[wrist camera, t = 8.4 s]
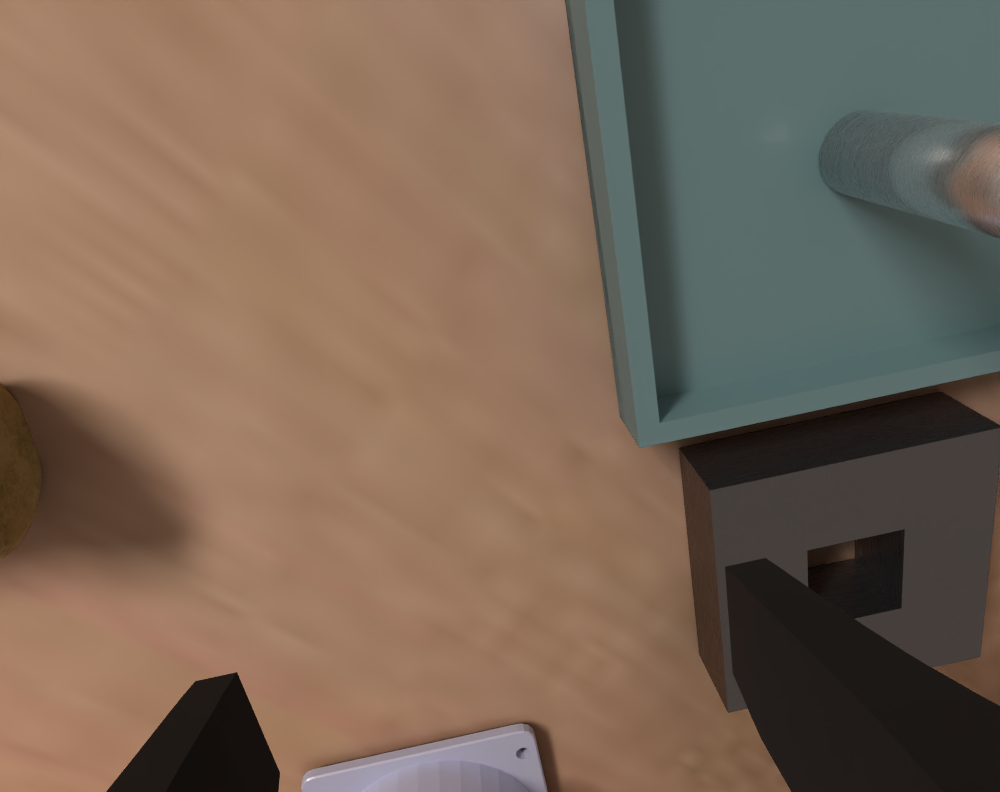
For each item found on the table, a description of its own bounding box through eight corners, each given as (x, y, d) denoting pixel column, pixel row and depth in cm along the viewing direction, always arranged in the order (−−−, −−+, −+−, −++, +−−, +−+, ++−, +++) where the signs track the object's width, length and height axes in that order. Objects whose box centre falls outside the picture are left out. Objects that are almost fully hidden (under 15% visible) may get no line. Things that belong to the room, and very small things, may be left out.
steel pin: (916, 208, 19) (1294, 310, 11) (791, 233, 19) (1084, 357, 11) (927, 66, 18) (1371, 67, 10) (791, 93, 17) (1131, 116, 9)
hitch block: (928, 604, 25) (980, 656, 23) (699, 655, 25) (728, 712, 22) (941, 391, 22) (1003, 427, 19) (678, 447, 22) (709, 490, 19)
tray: (1063, 322, 21) (1124, 344, 19) (620, 417, 21) (639, 448, 19) (1136, -244, 16) (1229, -289, 14) (548, -129, 16) (565, -157, 14)
